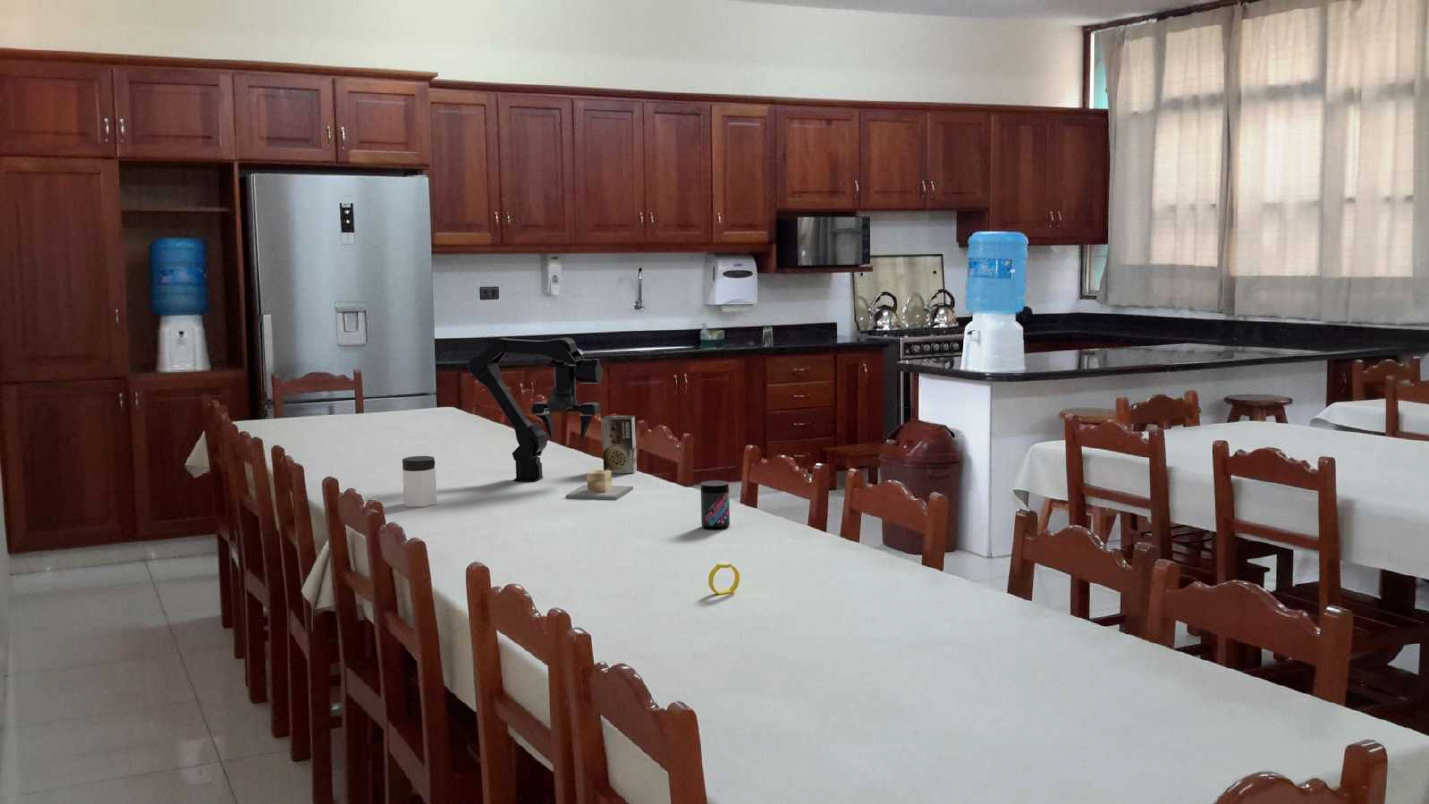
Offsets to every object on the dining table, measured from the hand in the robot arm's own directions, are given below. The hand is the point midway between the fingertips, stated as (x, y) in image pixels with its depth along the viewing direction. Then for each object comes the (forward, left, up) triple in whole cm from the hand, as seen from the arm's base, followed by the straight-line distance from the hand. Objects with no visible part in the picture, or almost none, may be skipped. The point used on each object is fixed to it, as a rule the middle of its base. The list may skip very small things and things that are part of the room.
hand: (566, 438), depth 350 cm
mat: (+15, -16, -12) cm, 25 cm away
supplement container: (+55, -49, -12) cm, 75 cm away
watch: (+70, -102, -12) cm, 124 cm away
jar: (-27, -36, -12) cm, 47 cm away
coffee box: (+10, +16, -12) cm, 22 cm away
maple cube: (+15, -16, -11) cm, 24 cm away
